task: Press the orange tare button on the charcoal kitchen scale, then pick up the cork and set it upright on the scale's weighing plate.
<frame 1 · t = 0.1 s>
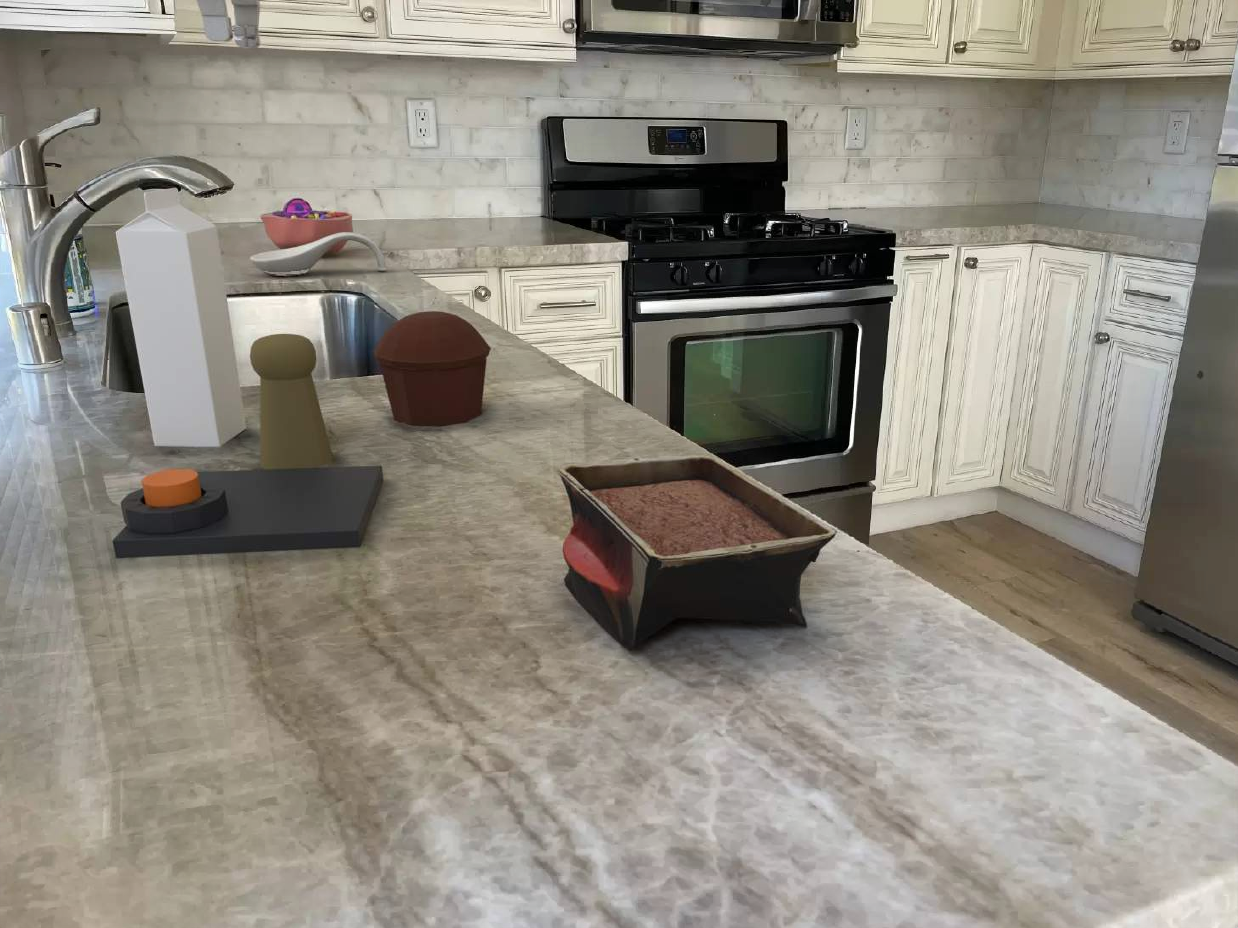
hand: (235, 44, 86), 34 cm above the worktop, tool pointing down, fingers open, 8 cm apart
cork: (297, 463, 88), on the worktop
scale: (262, 516, 76), on the worktop
baking dish: (679, 604, 64), on the worktop
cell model: (312, 256, 212), on the worktop
tare button: (172, 488, 71), point 4 cm above the worktop, slide at 0.1 cm
muffin: (437, 415, 103), on the worktop
spoon rest: (320, 274, 189), on the worktop
milk: (202, 439, 94), on the worktop
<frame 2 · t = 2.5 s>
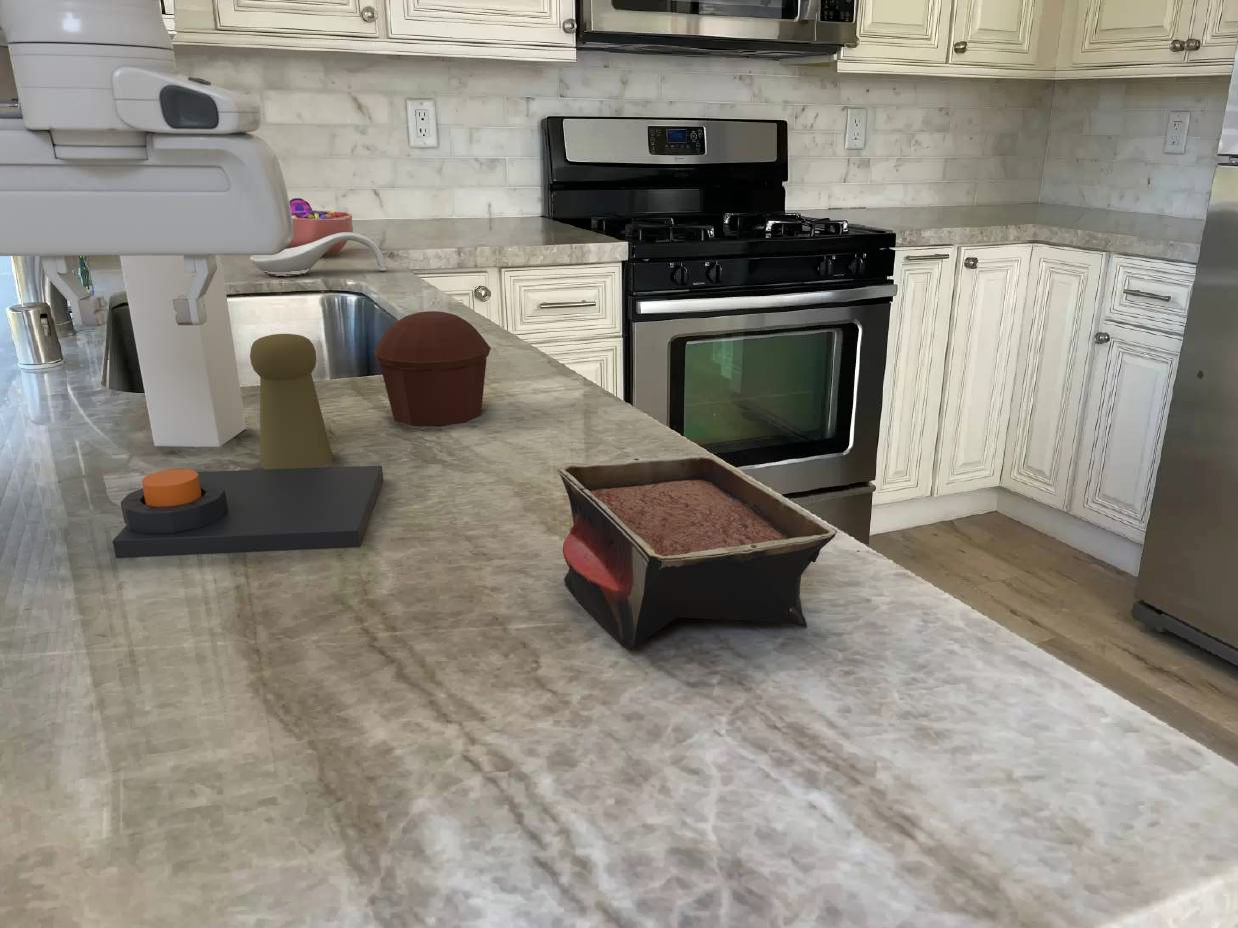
hand: (142, 324, 67), 15 cm above the worktop, tool pointing down, fingers open, 5 cm apart
nothing on the worktop moved.
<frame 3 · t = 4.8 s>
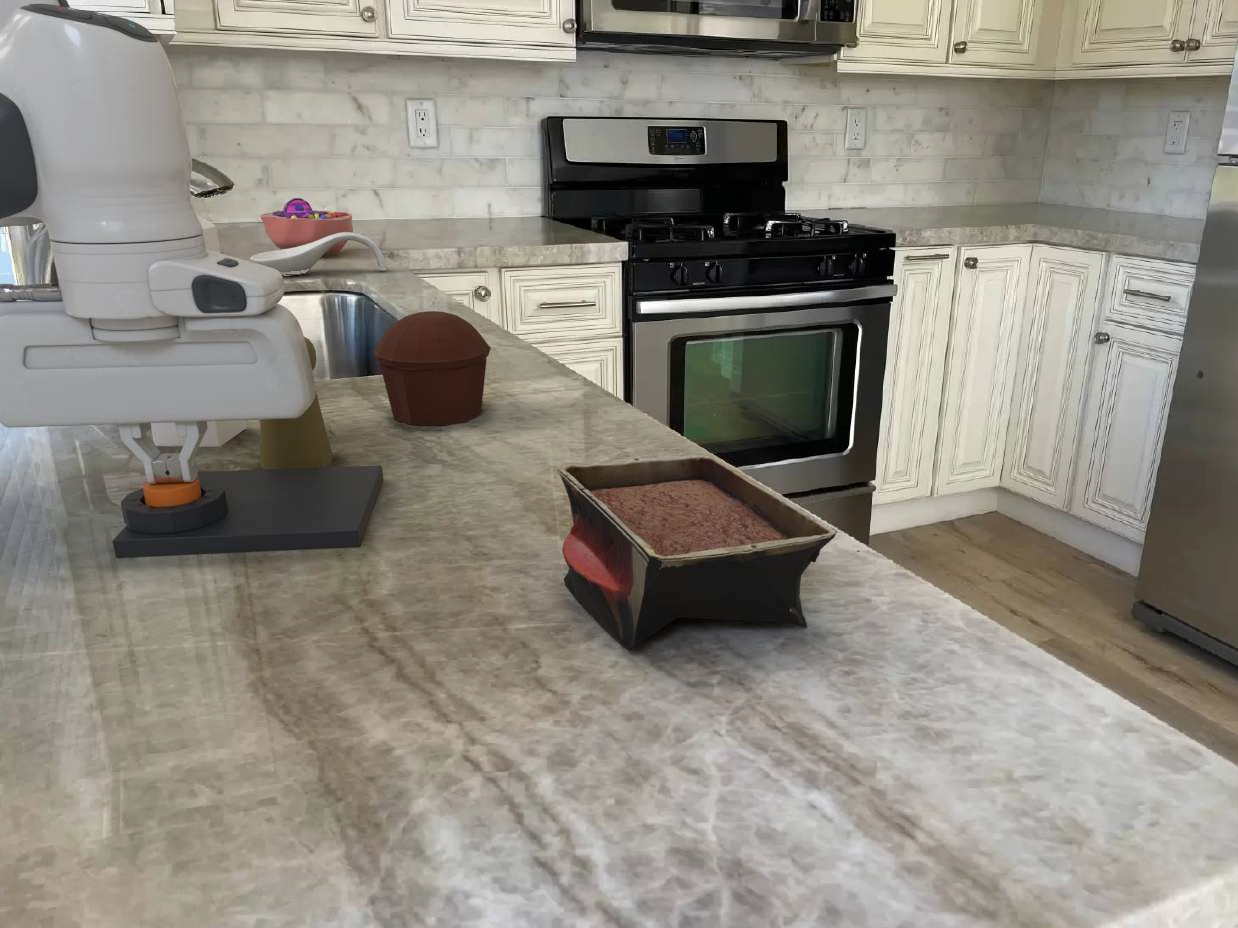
hand: (173, 481, 71), 4 cm above the worktop, tool pointing down, fingers closed, pressing on tare button
tare button: (173, 493, 72), point 3 cm above the worktop, slide at -0.2 cm, touching gripper
everything else where it was.
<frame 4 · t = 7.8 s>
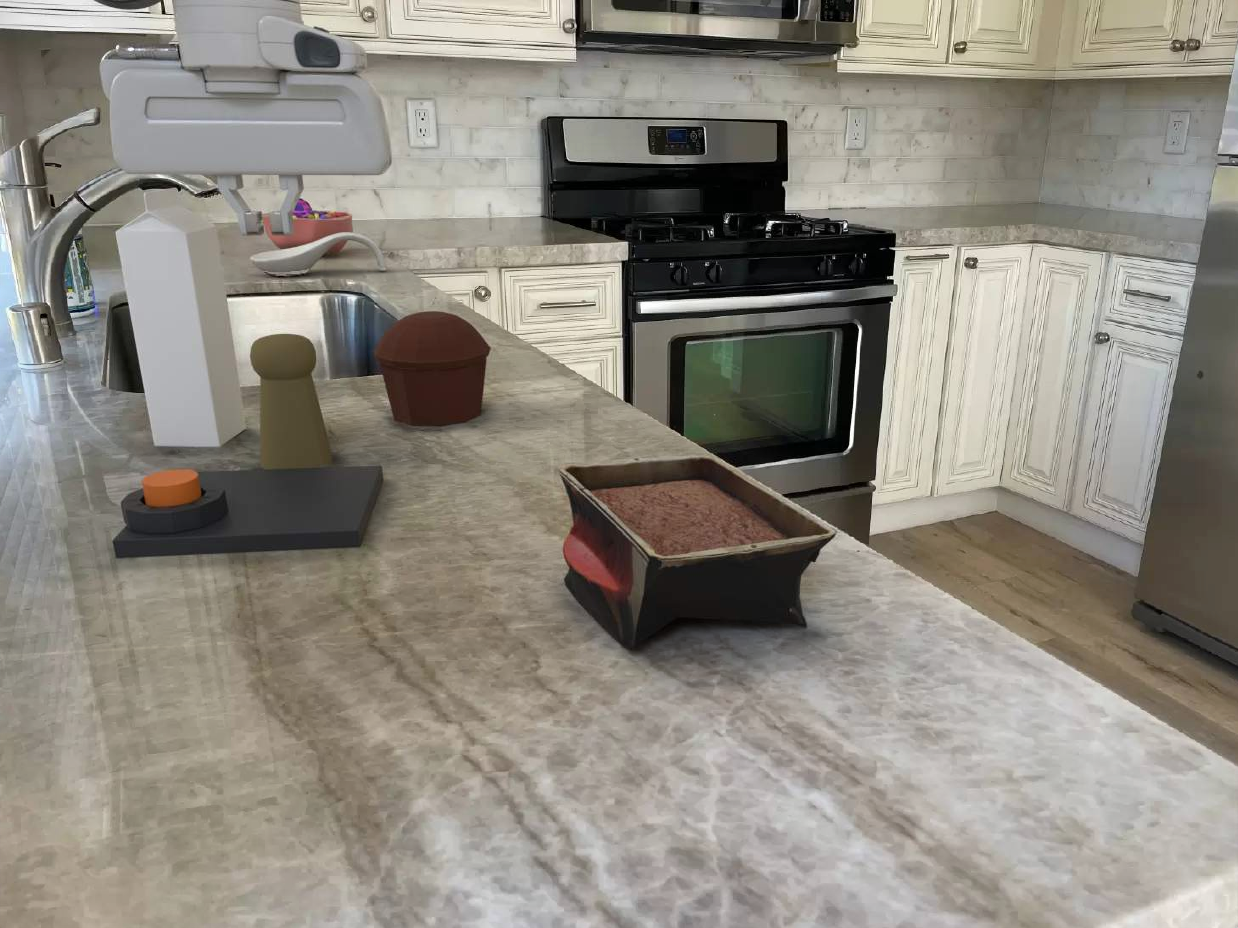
hand: (267, 235, 81), 19 cm above the worktop, tool pointing down, fingers closed
tare button: (172, 489, 71), point 3 cm above the worktop, slide at 0.1 cm
everything else where it was.
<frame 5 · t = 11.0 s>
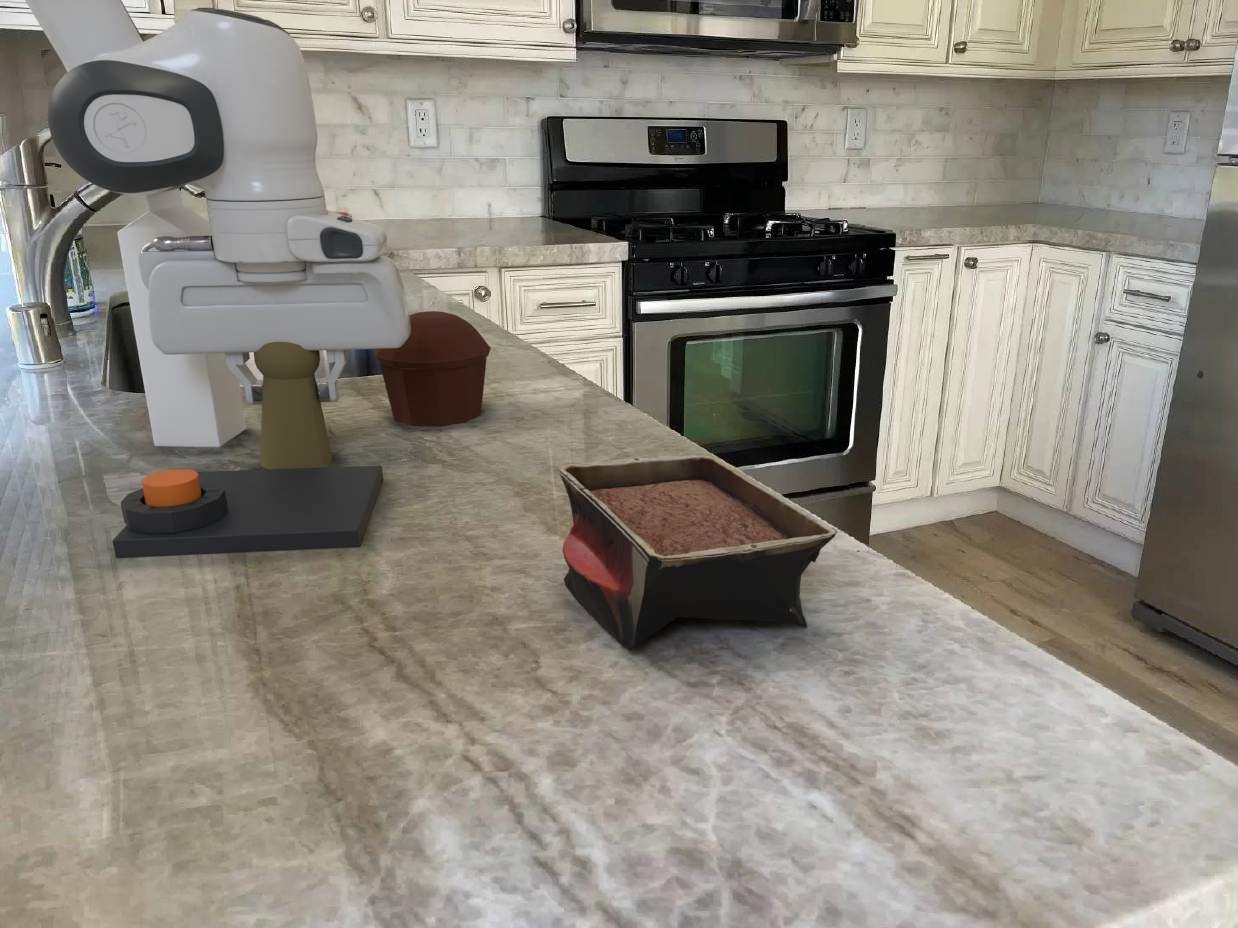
hand: (295, 401, 86), 5 cm above the worktop, tool pointing down, fingers closed on cork, 4 cm apart
cork: (296, 462, 88), on the worktop, touching gripper
milk: (202, 439, 94), on the worktop, touching arm
everything else where it was.
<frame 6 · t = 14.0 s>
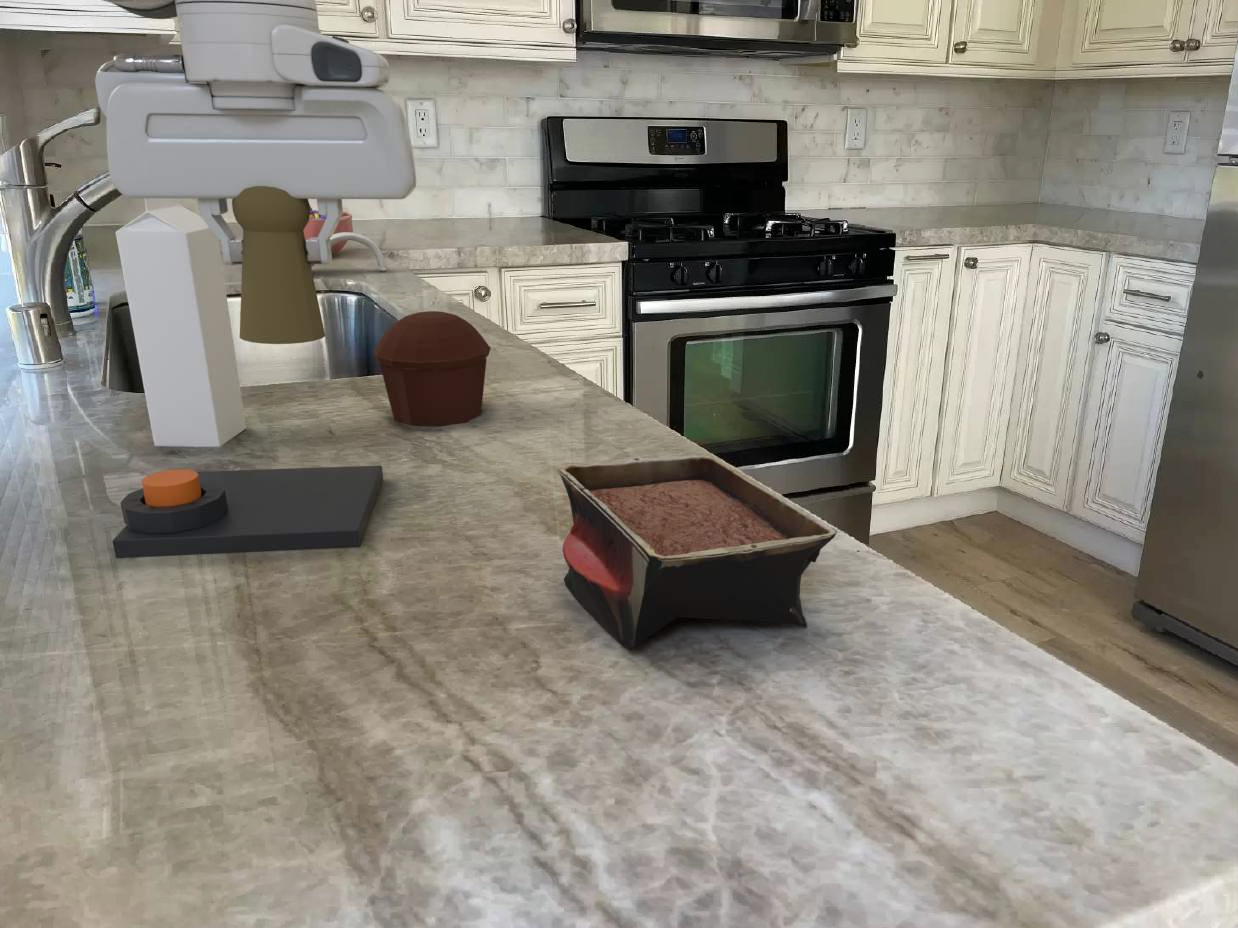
hand: (280, 263, 74), 18 cm above the worktop, tool pointing down, fingers closed on cork, 4 cm apart
cork: (283, 338, 76), point 13 cm above the worktop, touching gripper
milk: (202, 439, 94), on the worktop
everything else where it was.
when the fingers open (7 cm above the worktop, at t = 17.0 s): cork stays where it is, resting on scale.
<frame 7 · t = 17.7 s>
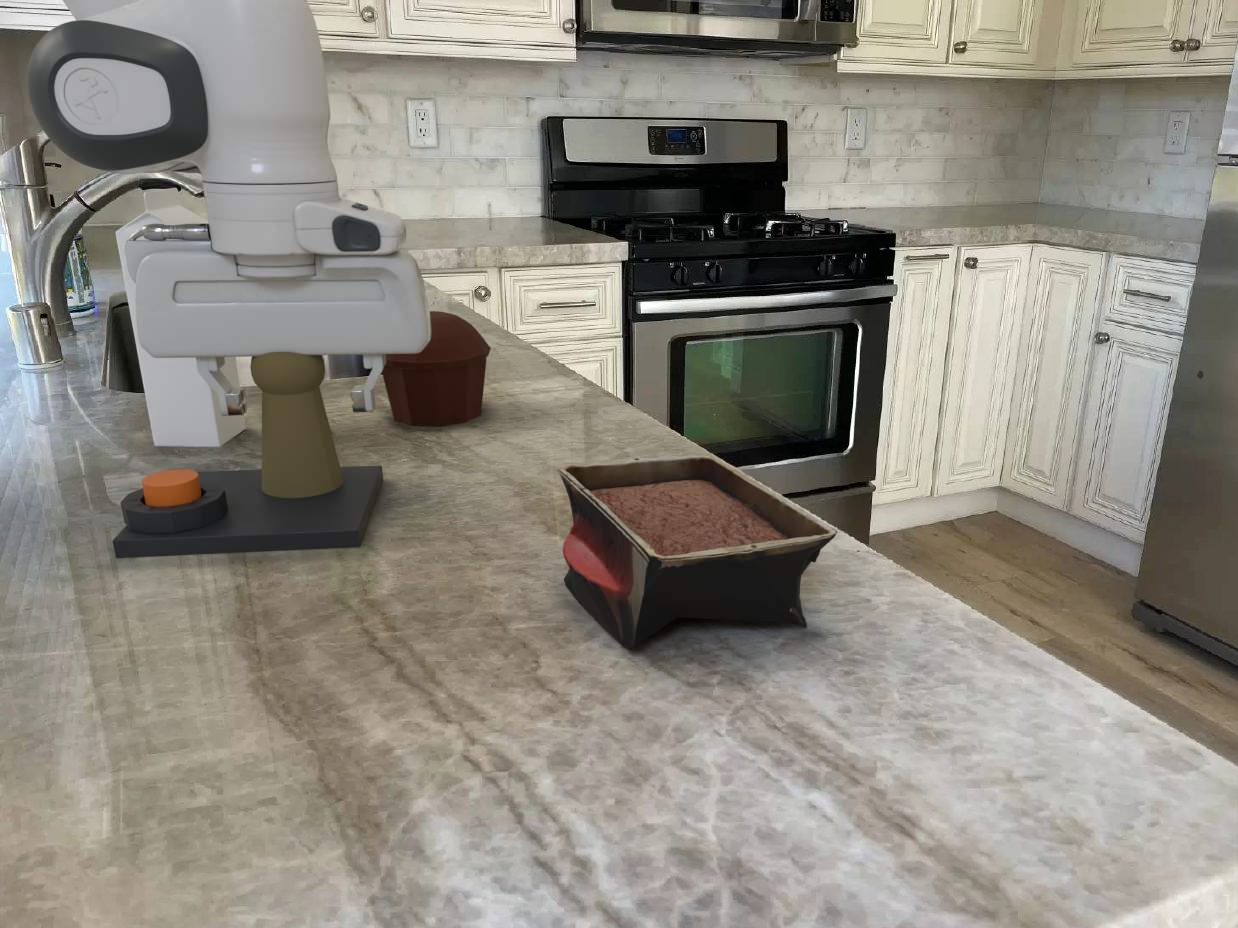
hand: (300, 412, 77), 7 cm above the worktop, tool pointing down, fingers open, 8 cm apart
cork: (303, 486, 79), point 1 cm above the worktop, touching scale
everything else where it was.
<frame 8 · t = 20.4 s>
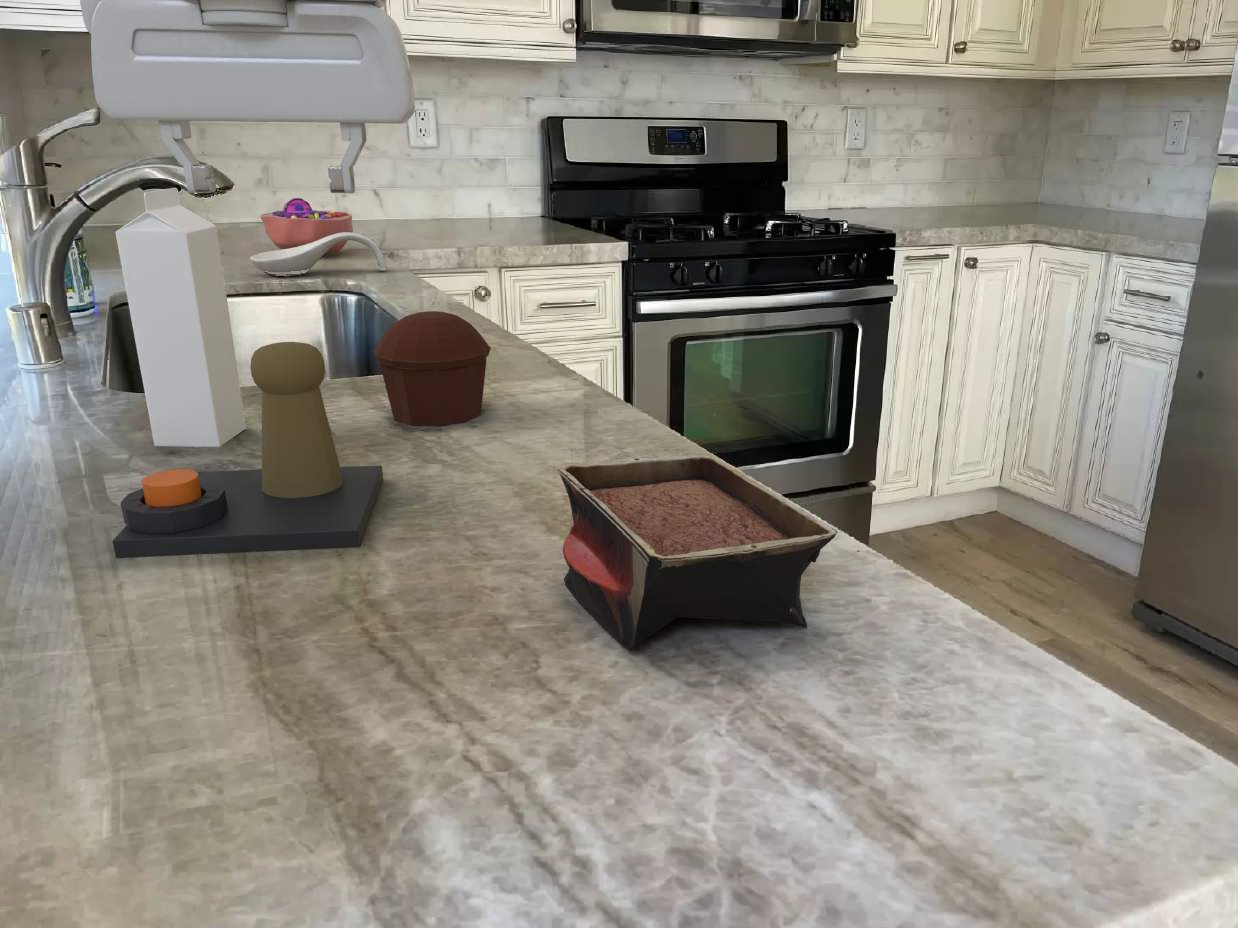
hand: (273, 192, 71), 23 cm above the worktop, tool pointing down, fingers open, 8 cm apart
nothing on the worktop moved.
at the end: tare button pushed in 0.9 cm at the most during the clip, back to where it started at the end; cork inside the target area on the scale (0.5 cm from its centre), point 1.2 cm above the scale's base; cork tilted 0° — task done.
